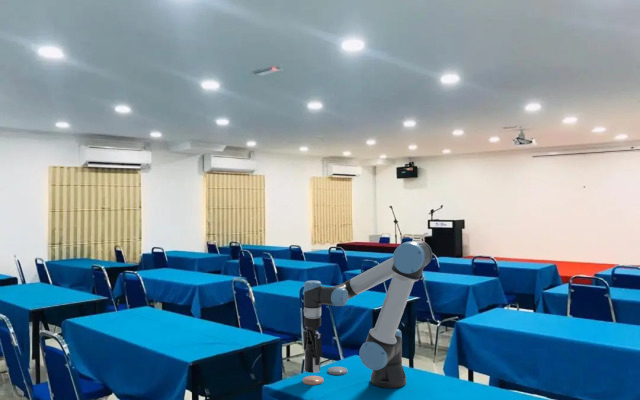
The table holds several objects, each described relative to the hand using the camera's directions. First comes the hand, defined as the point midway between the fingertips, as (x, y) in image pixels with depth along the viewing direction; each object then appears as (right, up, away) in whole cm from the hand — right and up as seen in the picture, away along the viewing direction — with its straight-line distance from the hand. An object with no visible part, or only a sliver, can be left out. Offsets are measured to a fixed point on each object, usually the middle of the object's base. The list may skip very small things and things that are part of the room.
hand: (312, 369), depth 212 cm
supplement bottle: (0, -1, 0) cm, 1 cm away
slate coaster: (+11, -5, +12) cm, 17 cm away
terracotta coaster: (0, -5, 0) cm, 5 cm away
